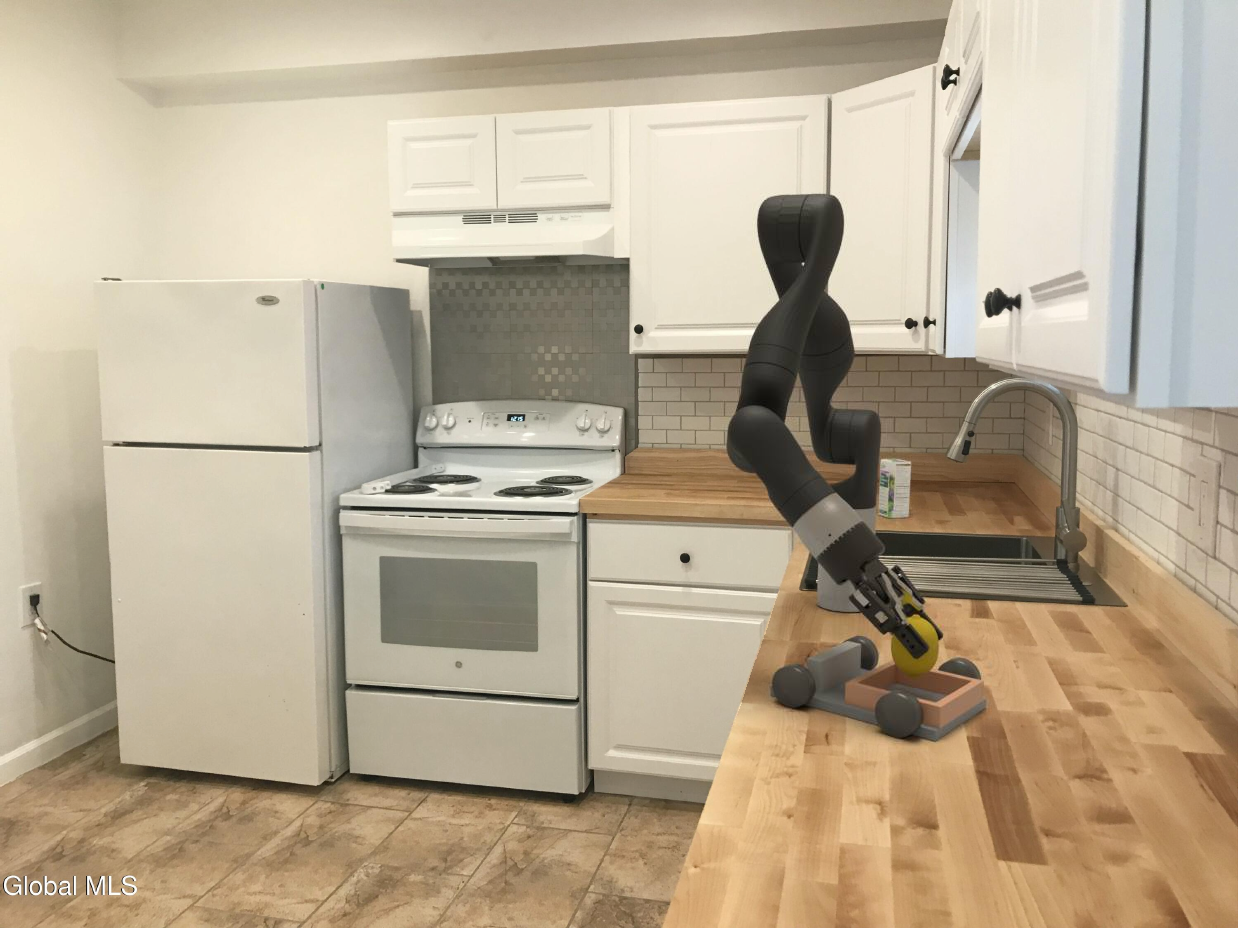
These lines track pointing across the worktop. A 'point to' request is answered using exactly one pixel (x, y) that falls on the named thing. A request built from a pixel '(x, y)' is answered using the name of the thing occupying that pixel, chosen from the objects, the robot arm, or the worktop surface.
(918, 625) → the lemon
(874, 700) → the chassis
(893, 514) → the syrup box
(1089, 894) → the worktop surface
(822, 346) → the robot arm
